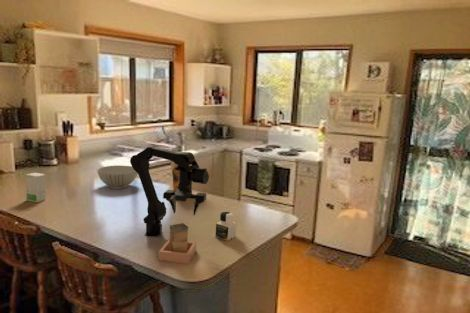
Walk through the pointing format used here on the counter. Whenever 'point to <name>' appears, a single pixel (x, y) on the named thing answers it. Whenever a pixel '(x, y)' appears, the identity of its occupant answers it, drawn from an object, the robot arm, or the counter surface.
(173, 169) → the pancake mix bag
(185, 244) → the brown rectangular block
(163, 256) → the pink square tray
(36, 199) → the skincare box
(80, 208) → the counter surface
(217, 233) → the medicine bottle
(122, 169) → the decorative bowl
